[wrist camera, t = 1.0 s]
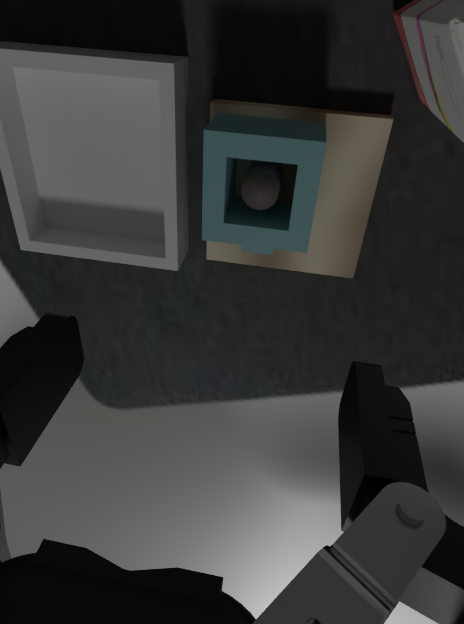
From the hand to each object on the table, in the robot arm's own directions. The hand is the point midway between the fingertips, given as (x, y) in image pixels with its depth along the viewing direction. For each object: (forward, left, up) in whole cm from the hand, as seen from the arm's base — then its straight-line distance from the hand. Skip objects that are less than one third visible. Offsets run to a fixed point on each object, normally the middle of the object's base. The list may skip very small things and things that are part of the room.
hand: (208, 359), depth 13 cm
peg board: (-1, +1, -18) cm, 18 cm away
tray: (+11, 0, -18) cm, 21 cm away
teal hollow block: (0, 0, -17) cm, 17 cm away
